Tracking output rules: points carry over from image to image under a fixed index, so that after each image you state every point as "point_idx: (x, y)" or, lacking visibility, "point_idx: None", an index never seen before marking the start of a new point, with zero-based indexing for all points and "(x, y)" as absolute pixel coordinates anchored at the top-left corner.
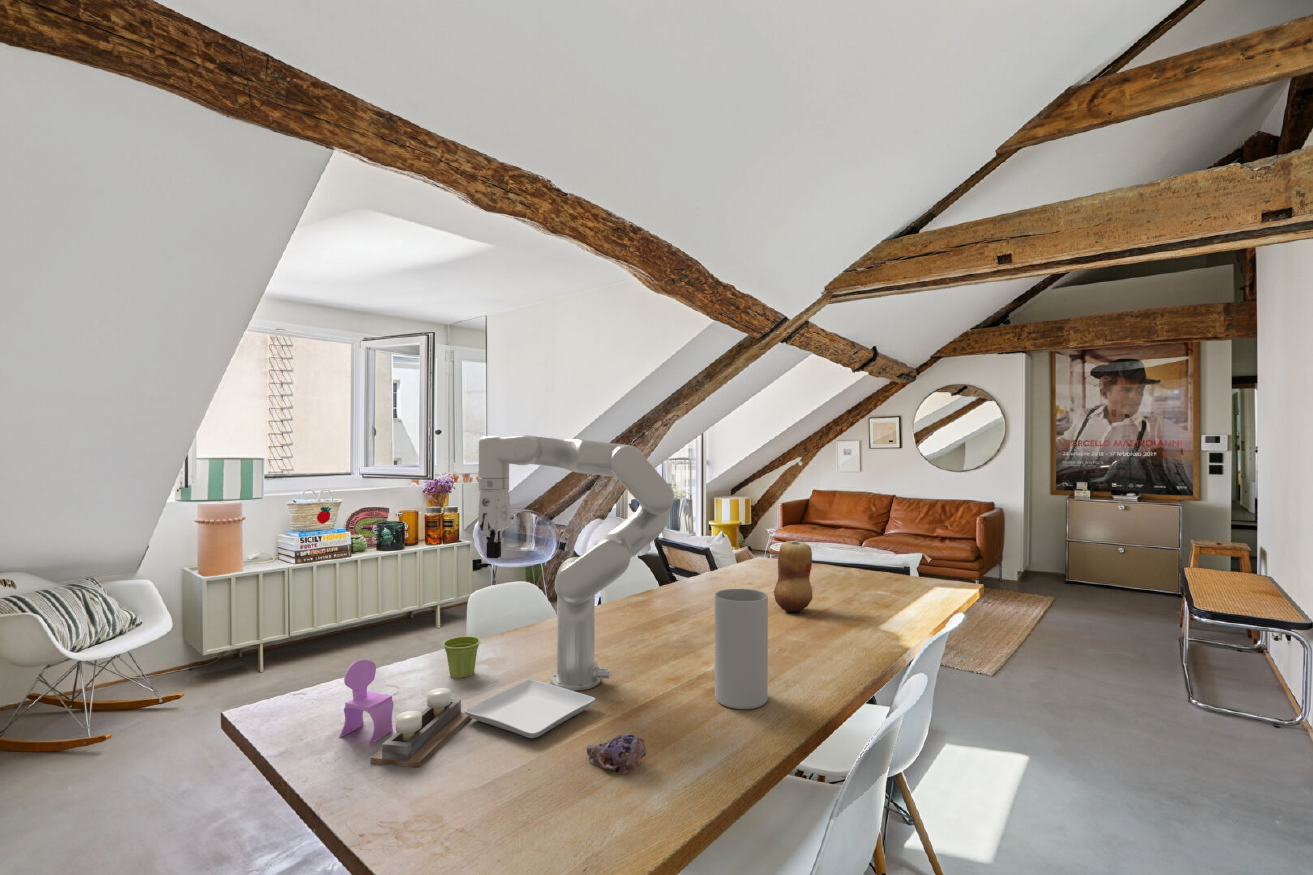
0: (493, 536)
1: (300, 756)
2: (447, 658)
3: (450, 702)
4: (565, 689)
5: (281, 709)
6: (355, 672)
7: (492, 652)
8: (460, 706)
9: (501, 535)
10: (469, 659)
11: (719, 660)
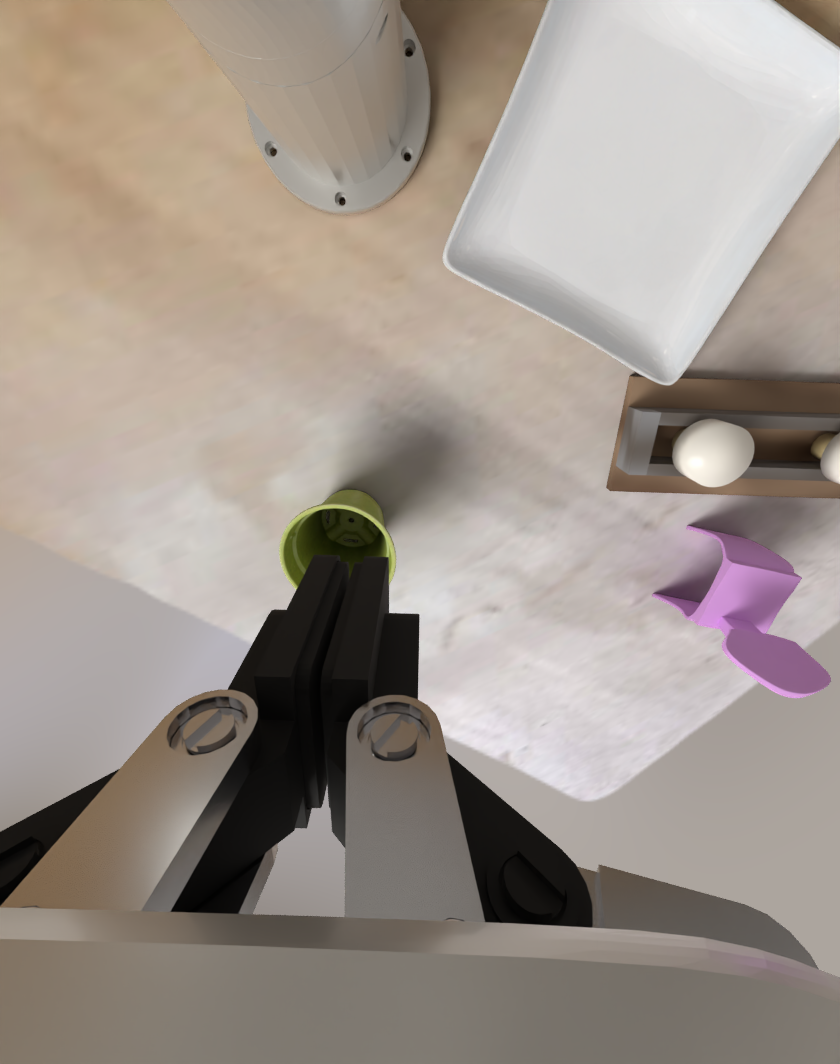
0: (468, 843)
1: (781, 626)
2: None
3: (701, 420)
4: (527, 70)
5: (577, 751)
6: (792, 671)
7: (169, 505)
8: (637, 409)
9: (136, 776)
10: (366, 507)
11: None
